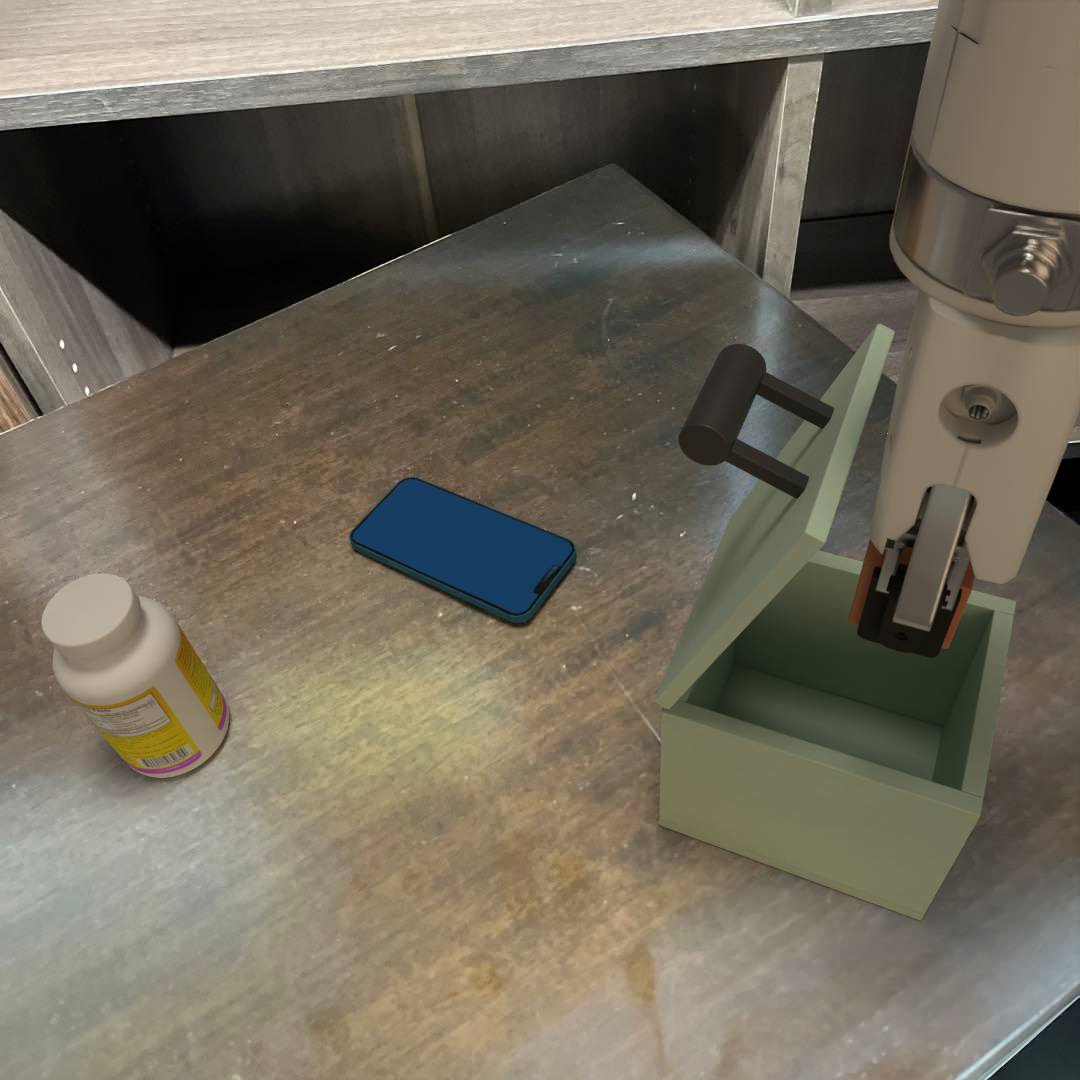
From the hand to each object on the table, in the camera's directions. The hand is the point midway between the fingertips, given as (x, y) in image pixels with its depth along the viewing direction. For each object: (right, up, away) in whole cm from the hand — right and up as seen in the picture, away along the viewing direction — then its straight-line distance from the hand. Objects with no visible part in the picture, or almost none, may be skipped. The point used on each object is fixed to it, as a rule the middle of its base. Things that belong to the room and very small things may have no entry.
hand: (908, 596), depth 41 cm
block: (0, 0, 0) cm, 0 cm away
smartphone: (-21, +2, +27) cm, 34 cm away
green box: (0, -11, +14) cm, 17 cm away
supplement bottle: (-38, -10, +19) cm, 43 cm away
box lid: (-5, +3, +1) cm, 6 cm away
